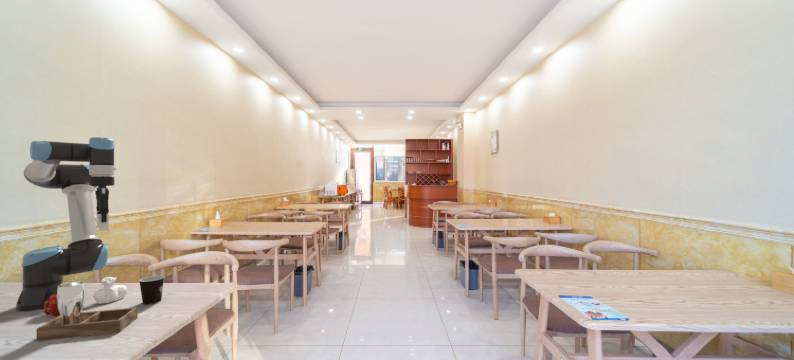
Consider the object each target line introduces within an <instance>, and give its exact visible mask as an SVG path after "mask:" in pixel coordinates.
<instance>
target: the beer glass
mask: <svg viewBox="0 0 794 360" xmlns="http://www.w3.org/2000/svg"><path fill="white" fill-rule="evenodd" d="M85 291H86V290H85V281H83V280H75V281H68V282H63V284H61V285H58V289H57V305H58V309H59V313H60V318H61V321H60V325H68V324H79V323H81V322H83V320H82V312H83V308H84V304H85V298H86V292H85Z"/></svg>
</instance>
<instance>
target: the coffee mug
mask: <svg viewBox="0 0 794 360" xmlns="http://www.w3.org/2000/svg"><path fill="white" fill-rule="evenodd" d="M138 281H139V289H140V293H141V302H142V304H143V305H145V306H147V305H154V303H155V304H157V303H161V301H162V297H163V289H164V281H165V276H164V275H151V276H146V277H142V278H141V279H139V280H138Z"/></svg>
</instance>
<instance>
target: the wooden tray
mask: <svg viewBox="0 0 794 360" xmlns="http://www.w3.org/2000/svg"><path fill="white" fill-rule="evenodd" d="M137 319H138V307H127V308H115V309H104V310H94V311H92V310H91V311H82V320H83V322H81V323H79V324H68V325H60V321H61V318H60V316H56V317H55V318H53V319H51V320H50V321H48V322H46V323H45V324H42V325H39V327H37V328H36V341H37V342H39V341H40V342H41V341H48V340H49V341H50V340H57V339H59V340H60V339H66V338H75V337H86V336H95V335H96V336H97V334H98V335H104V334H105V335H106V334H115V333H121V332H122V331H124V330H125V329H126V328H127V327H128V326H130V325H131V324H132V323H133V322H134V321H136V320H137ZM124 328H125V329H124Z"/></svg>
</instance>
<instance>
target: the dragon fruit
mask: <svg viewBox="0 0 794 360" xmlns="http://www.w3.org/2000/svg"><path fill="white" fill-rule="evenodd" d="M43 309H44V313H45V315H46V316H48V315H52V316H54V317H59V316H60V313H59V309H58V305H57V294H53V295H52V296H51V297H50V298H49V299H47V300H46V301H45V302H44V308H43Z"/></svg>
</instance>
